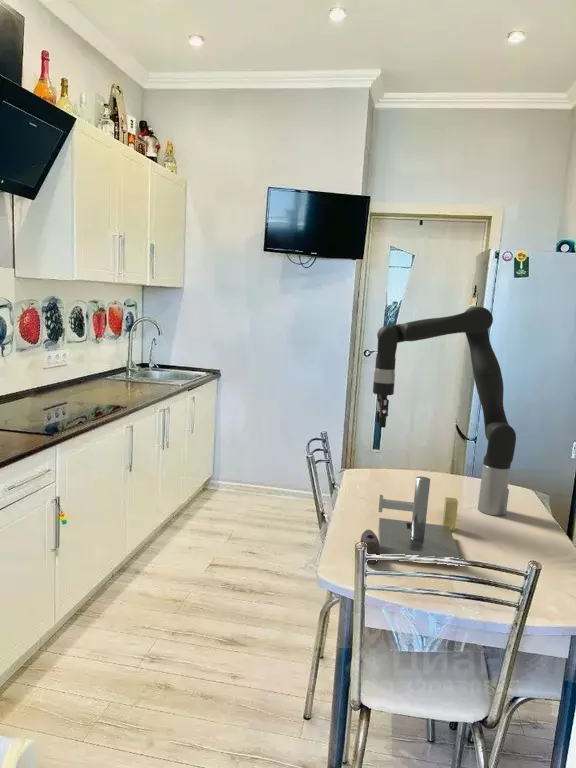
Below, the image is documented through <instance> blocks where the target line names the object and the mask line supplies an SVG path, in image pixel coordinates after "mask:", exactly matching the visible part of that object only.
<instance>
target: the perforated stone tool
mask: <svg viewBox="0 0 576 768" xmlns="http://www.w3.org/2000/svg"><path fill="white" fill-rule="evenodd" d="M359 542H364V543H366V544H367V553H368V554H376V555H380V546H379V537H378V536H377V535H376V533H375V532H374V531H373V530H372V529H365V530H364V531H363V533H362V534H361V538H360V541H359ZM379 561H380V559H379V560H377V561H376V560H368V561H367V562H366V563H370V564H377V563H378V562H379Z"/></svg>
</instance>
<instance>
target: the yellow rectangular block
mask: <svg viewBox="0 0 576 768" xmlns="http://www.w3.org/2000/svg"><path fill="white" fill-rule="evenodd" d="M458 505H459V501H458V498H455V497H448V496H447V497H446V496H445V498H444V506H443V514H442V515H443V516H442V522H441V525H444V526H449V527H450V530H451V532H455V531H456V525H457V524H456V523H457V515H458Z"/></svg>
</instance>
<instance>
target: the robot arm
mask: <svg viewBox="0 0 576 768" xmlns="http://www.w3.org/2000/svg"><path fill="white" fill-rule="evenodd" d="M493 323H494V317H493V314H492V312H491V311H490V310H489V309H488V308H485V307H484V306H472V307H471V306H470V307H469V308H467V309H466V310H465V311H463V312H462V313H458V314H453V315H449V316H442V317H433V318H425V319H419V320H413V321H408V322H405V323H398V324H388V325H384V326H381V327H380V328H379V329H378V331H377V333H376V334H377V335H376V336H377V353H376V357H375V369H374V371H373V372H374V373H373V385H372V386H373V387H372V394H375V395H376V403H375V404H376V405H375V409H376V423H379V424H378V425H379V426H378V427H379V428H384V429H385V428H386V426H387V417H389V405H390V404H389V403H390V400H389V399H388V396H393V395H394V393H395V382H396V381H395V380H396V355H397V354H396V353H397V347H398V344H399V343H404V342H416V341H421V340H427V339H433V338H436V337H443V336H447V335H453V334H454V335H455V334H464V333H465V336H466V339H467V342H468V343H467V344H468V347H469V350H470V360H471V365H472V373H473V378H474V383H475V387H476V391H477V395H478V398H479V402H480V404H481V409H482V413H483V415H482V416H483V424H484V434H485V435H484V436H485V438H486V440H487V448H486V453H485V455H484V456H483V462H482V464H483V465H482V471H481V480H480V488H479V494H478V495H479V496H478V503H477V504H478V505H477V510H478V511H479V512H481V513H483V514H486V515H489V516H490V515H491V516H506V515H507V511H508V509H507V508H508V501H509V496H510V495H509V494H510V489H509V479H510V471H511V466H512V465H511V464H512V462H513V460H514V455H515V449H516V442H517V433H516V431H515V429H514V428H513V427H512V426H511V425H510V424H509V422H508V419H507V415H506V412H505V408H504V391H505V390H504V380H503V375H502V371H501V366H500V363H499V361H498V358H497V355H496V354H495V352H494V349H493V347H492V345H491V340H490V333H489V329H490V328H491V326H492V325H493Z"/></svg>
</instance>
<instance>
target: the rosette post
mask: <svg viewBox="0 0 576 768" xmlns="http://www.w3.org/2000/svg"><path fill="white" fill-rule="evenodd" d="M430 486H431V478H429V477H428V476H427V477H426V476H422V475H421V476H416V478H415V487H414V497H413V502H411V501H404V500H393V499H386V498H384V495H383V494H379V498H378V499H379V500H378V513H383V509H386V510H393V511H396V510H397V511H403V512H412V517H411V521H410V520H409V521H408V520H401V519H392V518H383V517H378V518H379V520H378V527H377V530H378V541H379V546H380V554H405V555H419V556H435V557H454V558H459V559H460V558H461V557H460V553H459V551H458V547H457V545H456V542H455V539H454V536H453V533H452V531H451V530H450V527H449V526H444V525H442V524H434V523H427V514H428V505H429V496H430ZM413 563H416V564H418V563H417V562H413ZM420 564H423V565H430V566H431V565H432V566H438V567H446V568H452V569H459V567H460V566H455V565H447V564H437V563H420Z"/></svg>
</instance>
